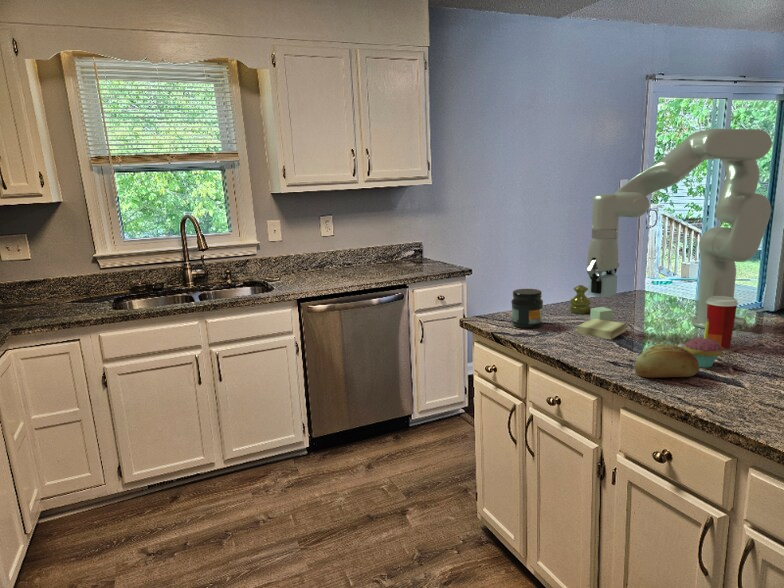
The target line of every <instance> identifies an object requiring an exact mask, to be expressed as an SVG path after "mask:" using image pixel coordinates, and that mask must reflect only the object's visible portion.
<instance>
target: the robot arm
mask: <svg viewBox="0 0 784 588" xmlns="http://www.w3.org/2000/svg"><path fill="white" fill-rule="evenodd" d="M772 144H773V141H772V137H771V135H770V134H769V133H768V131H766V130H762V129H757V128H754V129H753V128H751V129H750V128H747V129H746V128H713V129H712V128H711V129H706V130H699V131H696V132H694V133H691V134H690V135H688V136H687V137H686V138H685V139H683V140H682V141H681V142H680V143H679V144H678V145H677V146H676V147H675V148H673V149H672V150H671V151H670V152H668V153H667V154H666V155H665V156H664V157H662V158H661V159H660V160H659V161H658V162H656V163H654V165H652V166H650V167H648V168H646V169H645V170H644V171H642V172H640V173H639V174H637V175H635V176H634V177H632V178H631V179H630V180H628V181H627V182H626V183H625V184H623V185H622V186H621V187H620V188H619V189H618V190H617V191H615V192H614V193H601V194H596V195H594V197H593V198H592V215H591V216H592V217H591V218H592V219H591V239H590V241H589V246H588V251H587V260H586V261H587V263H586V273H587V274H588V277H589V276H590V280H591V292H592V293H597V294H600V293H601V281H600V279H601V275H602V274H603V273H604V274H608V275H616V273H617V270H618V269H619V267H620V263H619V245H618V239H619V238H618V236H619V218H620V217H623V218H625V217H626V218H639V217H641V216H644V215H645V214H646V213H647V211H648V210H649V208H650V200H649V198H648V197H647V196H649V195H651V194H652V193H655V192H657V191H660V190H664V189H666V188H669V187H671V186H674V185H676V184H678V183H679V182H681V181H682V180H683V179H684V178H685V177H687V176H688V175H689V174H690V173H691V172H692V171H693V170H694V169H696V168H697V167H698V166H699V165H701V164H702V163H703V162H704V161H707V160H720V161H721V162H722V163H723V166H724V168H725V171H726V172H725V175H726V176H725V179H724V184H723V186H722V189H721V193H720V195H719V197H718V201H717V203H716V204H717V205H716V208H715V214H714V215H715V217H716V219H717V220H718V221H719V222H722V223H725V224H731V225H732V226H731V227H727V226H726V227H725V226H717V227H712V228H709V229H706V231H705V232H704V233H703V234H702V235H701V236H700V239H699V248H698V249H699V255H700V275H699V288H698V289H699V290H698V301H697V302H698V303H697V314H696V315H697V316H696V317H693V318H691V319H690V320H691V325H692V326H694V327H697V328H700V329H705V327H706V322H707V303H706V301H707V299H708V298H709V297H711V296H726V297H732V298H735V297H734V296H735V288H736V286H735V285H736V279H737V267H736V263H735V262H737V263H739V262H740V263H742V262H743V263H744V262H746V261H749V260H751V259H753V257H754V256H755V255H756V254H757V252H758V250H759V247H760V245H761V243H762V240H763V237H764V234H765V231H766V230H767V226H768V225H769V224H768V223H769V222H770V218H771V214H772V207H771V202H770V200H769V199H768V198H767V197H766V196H765V195H763V194H761V193H756V190H757V189H758V188H757V187H758V183H759V181H760V168H759V165H758V162H757V161H756V160H759V159H761V158H763V157H765V156H766V155H767V154H768V153H769V152H770V151H771V149H772ZM596 274H598V276H597V275H596ZM736 314H737V313H735V320H734V327H733V330H734V329H736V328H738V326H744V327H745V326H746V324H747V319H746V318H744V317H739V316H738V317H737V316H736Z"/></svg>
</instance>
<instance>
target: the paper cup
mask: <svg viewBox="0 0 784 588" xmlns="http://www.w3.org/2000/svg"><path fill="white" fill-rule="evenodd" d="M706 303H707V320H708V322H709V327H708V334H707V338H708V339H711V340H714V341H716V342H718V343H719V344H720V345H721V347H722V350H728V349H730V347H731V342H732V339H733V338H732V337H733V331H734V329H733V327H734V320H735V313H736V312H737V306H738V305H739V303H738V300H737V299H736V298H735V297H734V298H732V297H726V296H711V297H709V298H708V299H707V301H706ZM736 314H737V313H736Z"/></svg>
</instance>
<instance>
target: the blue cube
mask: <svg viewBox="0 0 784 588" xmlns="http://www.w3.org/2000/svg"><path fill="white" fill-rule="evenodd" d="M595 274H596V275H597V276H598V273H595ZM600 281H601V293H600V294H597V293H592V292H591V280H590V276H589V275H588V287H587V288H588V290H587V291H588V292H587V295H590V296H595V297H601V298H607V297H612V296H615V295H617V289H618V288H617V285H618V275H616V274H615V275H608V274H605V273H602V275H601V279H600Z"/></svg>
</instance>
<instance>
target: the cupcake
mask: <svg viewBox="0 0 784 588" xmlns="http://www.w3.org/2000/svg"><path fill="white" fill-rule="evenodd" d="M708 327H709V322H708V320H707V322H706V327H705V328H704V336H703V337H694V338H690V339H689V340H688V341H686V342H685V344H684V349H686V350H687V351H689V352H691V353H692V354H693V355H694V356H695V357H696V359H697V360H698V364H699V368H712V367H713V365H714V363H715V361H716V359H717V358H718V356H721V355H723V349H722V347H721V345H720V344H719V343H718V342H716V341H714V340H711V339H708V338H707V334H708Z"/></svg>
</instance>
